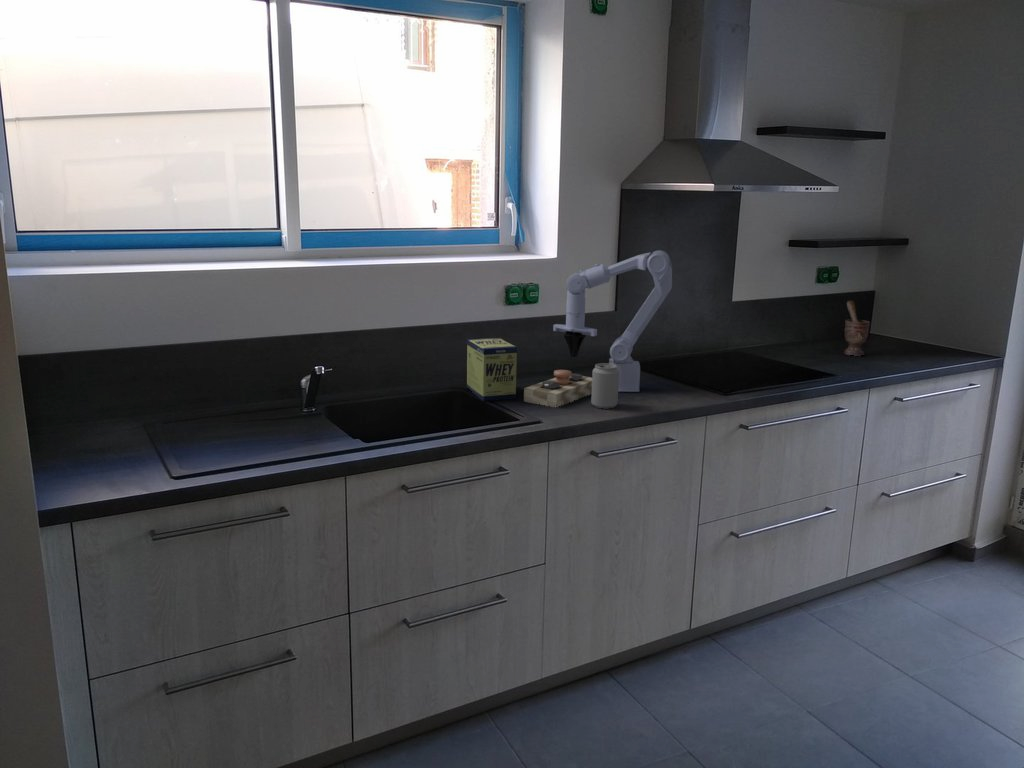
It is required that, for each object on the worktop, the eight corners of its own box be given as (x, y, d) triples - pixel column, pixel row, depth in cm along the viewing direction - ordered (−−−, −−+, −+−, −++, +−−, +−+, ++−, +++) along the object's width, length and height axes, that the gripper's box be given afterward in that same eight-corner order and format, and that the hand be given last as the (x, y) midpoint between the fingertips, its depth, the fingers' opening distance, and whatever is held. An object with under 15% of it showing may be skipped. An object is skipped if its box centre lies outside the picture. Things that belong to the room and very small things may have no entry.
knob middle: (569, 384, 247) (570, 369, 246) (572, 388, 242) (572, 373, 241) (552, 384, 246) (553, 369, 245) (554, 388, 241) (555, 373, 240)
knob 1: (558, 396, 242) (558, 381, 241) (560, 400, 237) (560, 385, 236) (540, 395, 242) (541, 381, 241) (542, 400, 237) (542, 385, 236)
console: (567, 385, 257) (567, 373, 257) (598, 391, 251) (598, 378, 250) (523, 401, 238) (524, 388, 237) (556, 407, 232) (556, 394, 231)
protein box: (483, 401, 238) (483, 348, 234) (466, 389, 252) (466, 338, 248) (516, 398, 241) (517, 346, 238) (498, 386, 255) (498, 337, 252)
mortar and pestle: (830, 352, 318) (836, 300, 314) (845, 350, 322) (851, 299, 318) (855, 357, 309) (861, 304, 304) (870, 355, 313) (877, 303, 308)
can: (602, 401, 240) (604, 361, 237) (622, 406, 235) (624, 365, 232) (585, 405, 235) (587, 364, 232) (606, 411, 230) (608, 369, 227)
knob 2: (580, 387, 252) (581, 373, 251) (582, 392, 247) (583, 377, 246) (563, 387, 252) (564, 373, 251) (565, 392, 247) (566, 377, 246)
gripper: (548, 311, 253) (547, 355, 256) (589, 317, 245) (587, 361, 248) (560, 309, 259) (559, 351, 262) (601, 314, 251) (599, 357, 254)
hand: (573, 356), depth 256 cm, fingers closed
